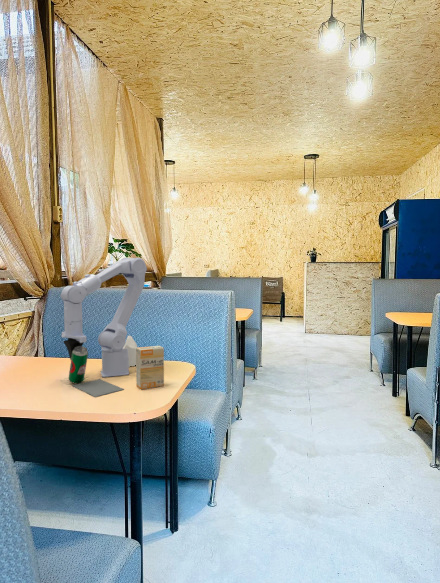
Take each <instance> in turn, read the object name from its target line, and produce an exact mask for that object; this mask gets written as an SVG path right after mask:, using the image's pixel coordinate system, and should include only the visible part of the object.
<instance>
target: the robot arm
mask: <svg viewBox="0 0 440 583" xmlns="http://www.w3.org/2000/svg"><path fill="white" fill-rule="evenodd" d="M147 267H148V266H147V265H146V262H145V260H144V259H143V258H141V257H132V258H131V257H123V258H121V259H119V260H117V261H115V262H114V263H113V264H111V265H109V266H107V268H105V269H103V270H101V271H100V272H98V273H97V274H93V273H91V274H89V273H87V274H85V275H84V277H83V278H81V279H79V280H78V281H74V282H72V285H67V286H65V287H64V288H63V289H62V290H61V292H60V298H61V300H62V302H63V322H64V323H63V324H64V331H62V332H61V338H64V339H65V338H67V339H65V340H63V344H64V345H65V347H66V349H67V352H68V356H69V359H70V361H71V357H72V351H73V350H74V348H75V347H78V346H82V347H83V345H84V343H87V336H86V335H85V334H84V333H83V304H82V303H83V301H84V300H85V298H86V297H88V296H89V295H90V294H92V293H94V292H96V291H97V290H99V289H100V288H101V286H102V283H104V282H106V281H108V280H110V279H111V278H114V277H116V276H117V275H118V274H121V275H122V276H123V277H124V278H125V280H126V281H127V284H128V285H127V287H126V289H125V292H124V294H123V297H122V299H121V301H120V303H119V304H118V307H117V309H116V312H115V314H114V316H113V318H112V320H111V321H110V323H108V324H107V325H106V326H105V327H104V329H103V331H101V332H100V333H99V335H98V337H97V342H98V344H99V345H100V346H101V367H102V368H101V370H100V371H99V372H100V374H101V377H102V378H107V377H108V378H109V377H116V376H117V377H118V376H128V375H130V367H129V358H128V350H127V349H123V347H124V345H125V343H126V340H127V335H128V330H127V329H126V327H127V325H128V323H129V320H130V318H131V316H132V313H133V312H134V309H135V307H136V305H137V303H138V301H139V299H140V296H141V294H142V291H143V290H144V287H145V283H146V282H145V280H146V279H145V278H146V277H145V276H146V272H147V270H148V268H147Z"/></svg>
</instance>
